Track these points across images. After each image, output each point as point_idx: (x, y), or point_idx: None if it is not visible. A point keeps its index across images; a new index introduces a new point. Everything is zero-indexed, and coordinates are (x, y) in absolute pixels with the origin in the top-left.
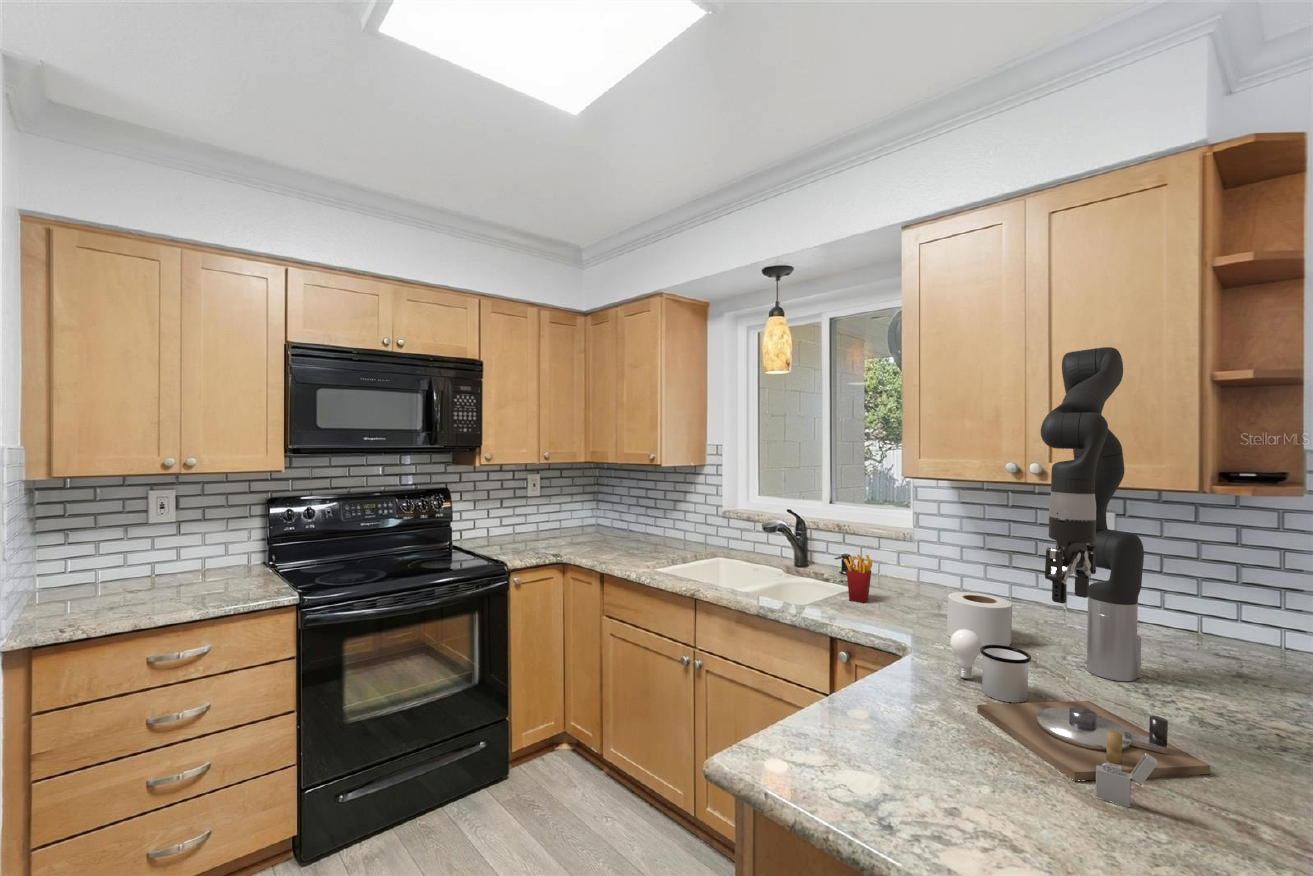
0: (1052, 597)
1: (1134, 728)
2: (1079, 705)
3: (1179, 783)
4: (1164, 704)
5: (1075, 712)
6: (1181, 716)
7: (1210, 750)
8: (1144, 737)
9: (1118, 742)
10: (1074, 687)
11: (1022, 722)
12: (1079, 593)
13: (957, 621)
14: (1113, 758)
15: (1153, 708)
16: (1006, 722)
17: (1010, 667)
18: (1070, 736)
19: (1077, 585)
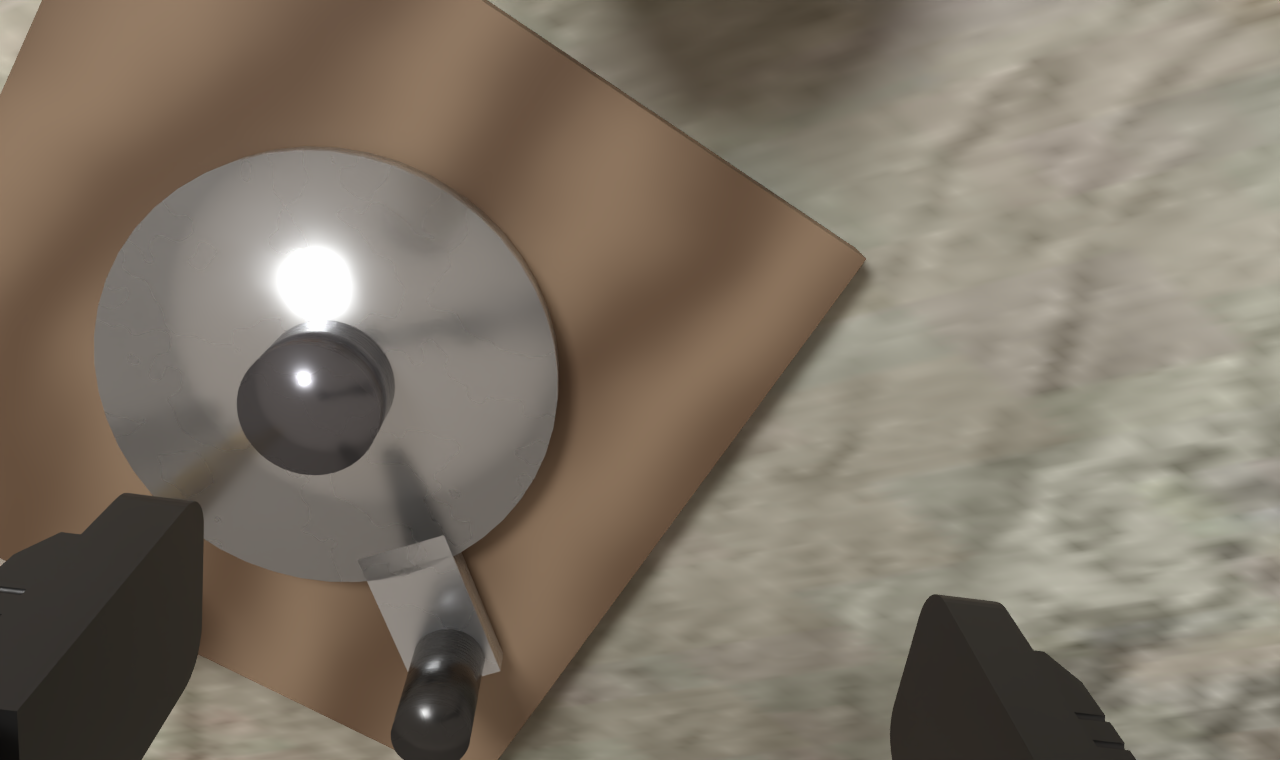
0: (108, 516)
1: (629, 521)
2: (733, 246)
3: (285, 708)
4: (1248, 496)
5: (258, 386)
6: (1116, 581)
7: (755, 724)
8: (457, 609)
9: None
10: (1182, 80)
11: (150, 104)
12: (932, 676)
13: None
14: None
15: (1137, 473)
16: (54, 37)
17: None
18: (113, 384)
19: (987, 741)
